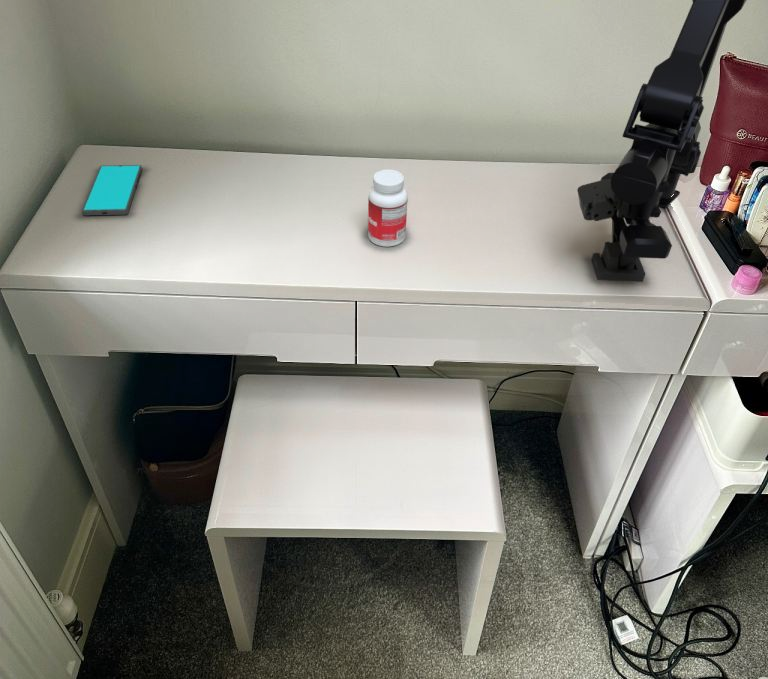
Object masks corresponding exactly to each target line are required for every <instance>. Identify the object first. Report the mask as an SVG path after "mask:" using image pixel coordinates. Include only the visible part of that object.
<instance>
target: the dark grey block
mask: <svg viewBox="0 0 768 679" xmlns="http://www.w3.org/2000/svg"><path fill="white" fill-rule="evenodd" d="M620 247H621V246H620V245H619V244H618V242H612V241H604V246H603V249H602V252H601V254H600V256H601V259H602V262H603V265H604V268H605V269H619V268H618V262H619V254H620ZM635 262H636V260H635V261H634V262H633V263H632V264H631V265H630V266H628V267H627V268H626V269H630V270H633V268H634V265H635Z"/></svg>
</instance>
